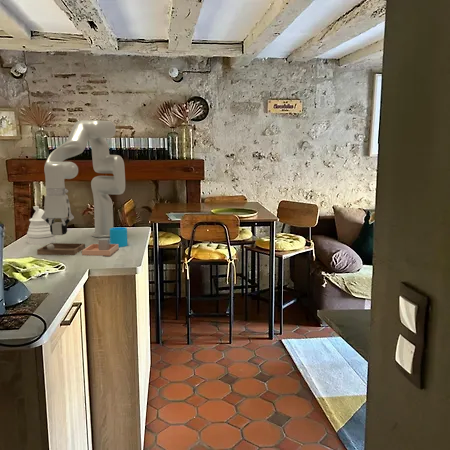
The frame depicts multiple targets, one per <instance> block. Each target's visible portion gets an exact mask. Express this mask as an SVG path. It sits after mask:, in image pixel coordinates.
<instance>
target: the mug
mask: <svg viewBox="0 0 450 450" xmlns="http://www.w3.org/2000/svg"><path fill="white" fill-rule="evenodd" d="M109 238H110V244H118V246H119V248H124V247H128V228H127V227H125V226H123V227H121V226H118V227H117V226H116V227H115V226H114V227H113V228H110V237H109Z"/></svg>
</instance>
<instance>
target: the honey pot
mask: <svg viewBox="0 0 450 450" xmlns="http://www.w3.org/2000/svg"><path fill="white" fill-rule="evenodd" d="M32 207H33V210H34V211H35V212H34V213H33V215H32V217H30V218H29V219H28V221H29V222H30V223H29V226H28V228H27V229H28V230H27V232H26V238H27V244H29V245H48V244H50V243H56V239H57V238H56V235H53V234H51V232H50V225H49V224H48V223H47V222H46V221H45V220H43V219H42V218H41V217H42V215H43V214H44V209H42V208H40V206H38V205H35V206H32Z"/></svg>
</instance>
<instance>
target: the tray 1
mask: <svg viewBox="0 0 450 450" xmlns="http://www.w3.org/2000/svg"><path fill="white" fill-rule="evenodd" d="M49 244H53V245H54V247H55V248H54V250H48V249H47V246H48V245H49ZM49 244H45V245H43V246H42V247H40V248H37V249H36V253H37V254H36V255H38V256H39V255H40V256H41V255H44V256H47V255H48V256H75V255H77V254H78V253H80V252H82V250H83V249H85V248H86V243H76V242H75V243H74V242H73V243H70V242H69V243H65V242H63V243H62V242H53V243H49Z"/></svg>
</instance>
